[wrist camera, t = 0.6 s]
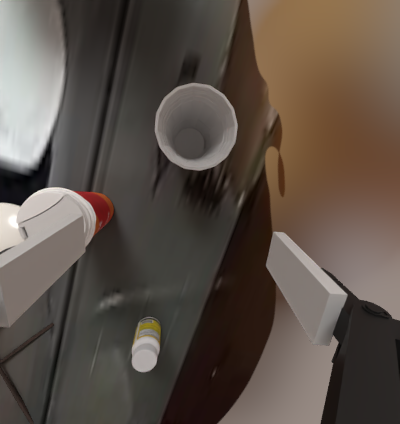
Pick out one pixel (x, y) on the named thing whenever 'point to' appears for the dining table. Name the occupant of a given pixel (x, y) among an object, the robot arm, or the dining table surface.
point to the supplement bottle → (146, 344)
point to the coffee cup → (63, 211)
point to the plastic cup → (196, 126)
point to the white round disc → (9, 226)
